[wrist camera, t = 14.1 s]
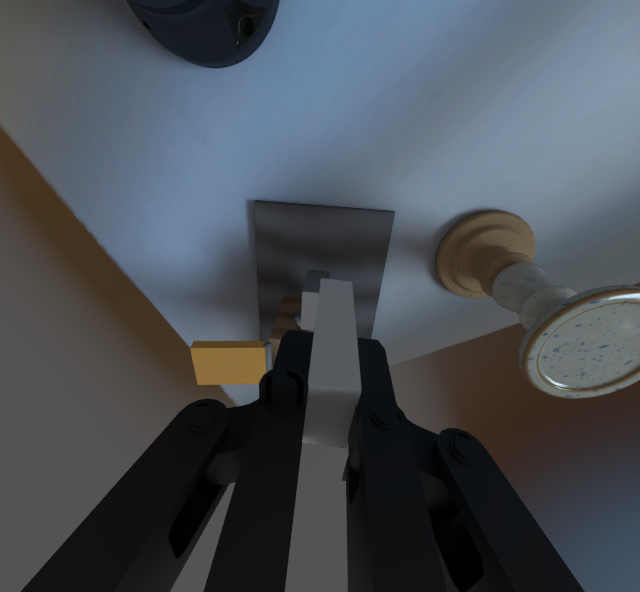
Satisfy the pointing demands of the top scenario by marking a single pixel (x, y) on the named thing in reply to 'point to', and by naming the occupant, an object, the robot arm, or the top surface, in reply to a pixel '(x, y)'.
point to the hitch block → (317, 259)
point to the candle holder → (546, 308)
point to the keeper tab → (231, 361)
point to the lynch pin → (310, 300)
